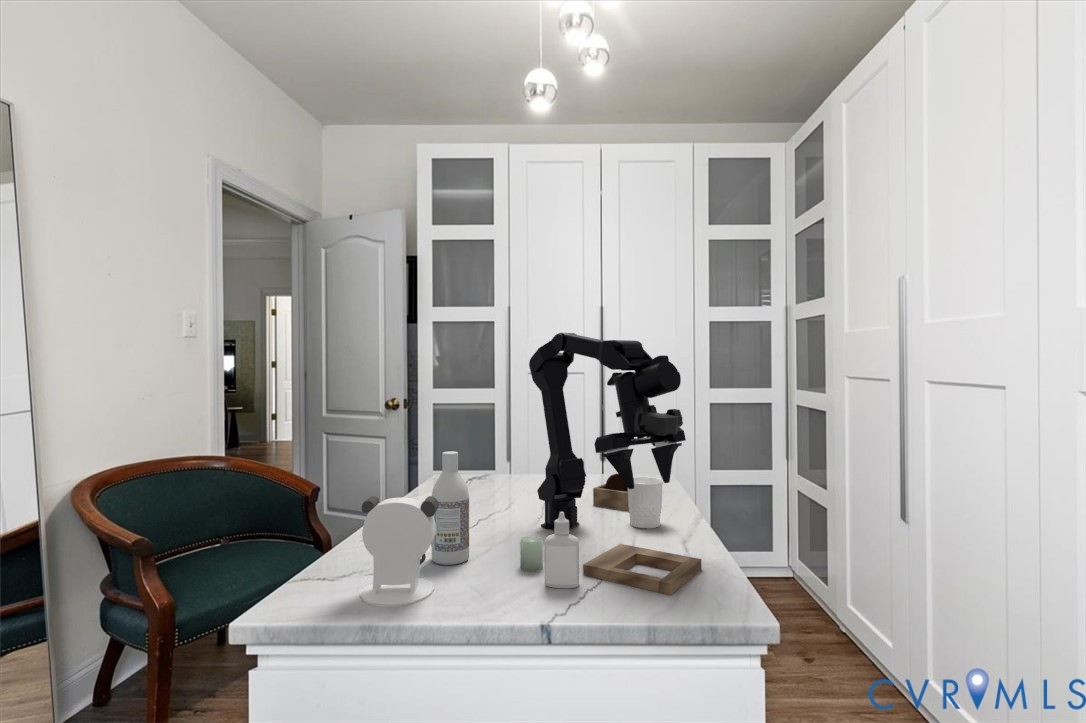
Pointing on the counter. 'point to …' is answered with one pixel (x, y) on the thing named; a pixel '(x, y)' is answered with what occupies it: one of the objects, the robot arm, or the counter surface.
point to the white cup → (645, 502)
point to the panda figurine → (398, 549)
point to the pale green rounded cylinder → (531, 554)
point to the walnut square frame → (625, 556)
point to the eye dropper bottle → (561, 556)
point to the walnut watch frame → (610, 498)
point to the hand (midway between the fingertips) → (649, 485)
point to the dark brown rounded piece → (616, 483)
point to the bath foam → (451, 514)
